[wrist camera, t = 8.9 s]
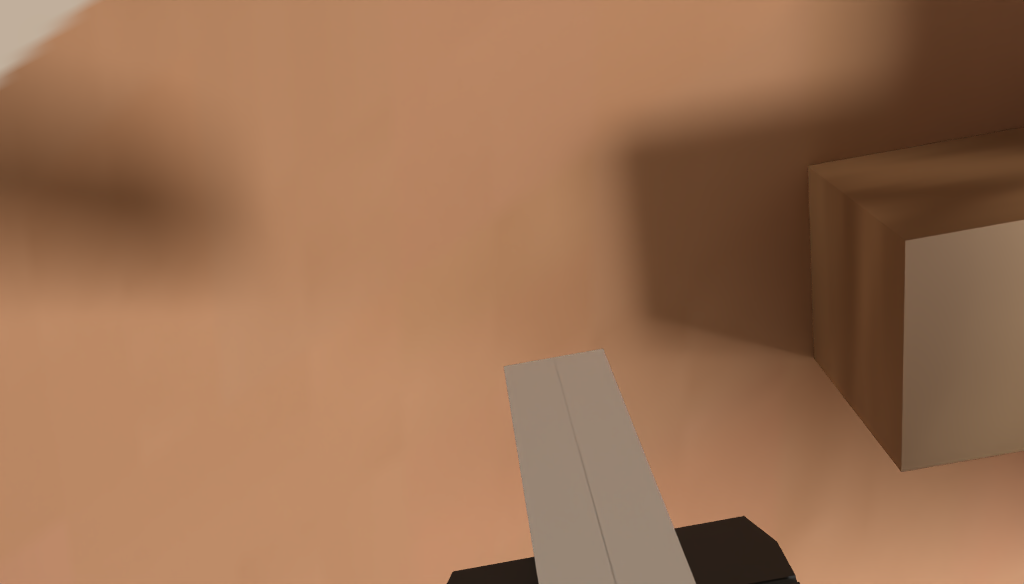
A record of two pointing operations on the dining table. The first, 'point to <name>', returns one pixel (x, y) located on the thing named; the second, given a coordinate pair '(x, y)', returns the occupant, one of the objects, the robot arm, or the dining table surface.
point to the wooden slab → (924, 294)
